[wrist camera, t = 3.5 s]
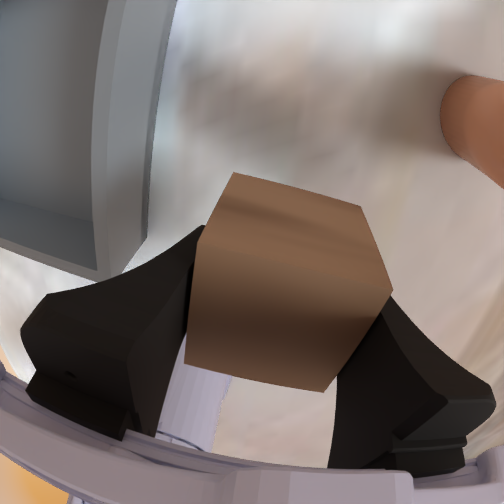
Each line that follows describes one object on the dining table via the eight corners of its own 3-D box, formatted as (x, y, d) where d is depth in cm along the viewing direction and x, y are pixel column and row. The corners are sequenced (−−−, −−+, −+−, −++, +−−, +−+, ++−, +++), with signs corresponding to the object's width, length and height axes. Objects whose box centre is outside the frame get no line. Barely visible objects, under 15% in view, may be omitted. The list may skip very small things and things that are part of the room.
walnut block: (319, 300, 14) (323, 392, 10) (213, 275, 14) (183, 363, 10) (360, 206, 12) (393, 289, 7) (233, 172, 11) (197, 241, 7)
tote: (146, 237, 19) (111, 286, 15) (5, 200, 19) (-36, 231, 15) (191, -52, 9) (152, -87, 5) (12, -19, 9) (-41, -19, 5)
